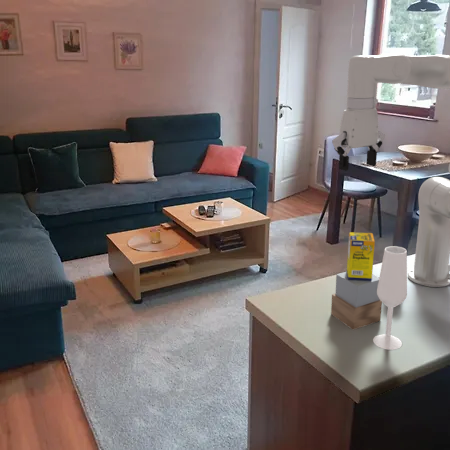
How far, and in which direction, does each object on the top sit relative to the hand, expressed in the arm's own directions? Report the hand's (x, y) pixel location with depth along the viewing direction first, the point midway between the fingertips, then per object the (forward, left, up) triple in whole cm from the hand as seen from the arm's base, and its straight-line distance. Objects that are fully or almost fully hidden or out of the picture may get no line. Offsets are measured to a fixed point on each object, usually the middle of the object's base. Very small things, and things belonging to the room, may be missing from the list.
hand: (357, 167), depth 136 cm
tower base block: (+11, +15, -36) cm, 41 cm away
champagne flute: (+12, +28, -36) cm, 48 cm away
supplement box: (+11, +15, -25) cm, 31 cm away
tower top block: (+11, +15, -30) cm, 36 cm away
